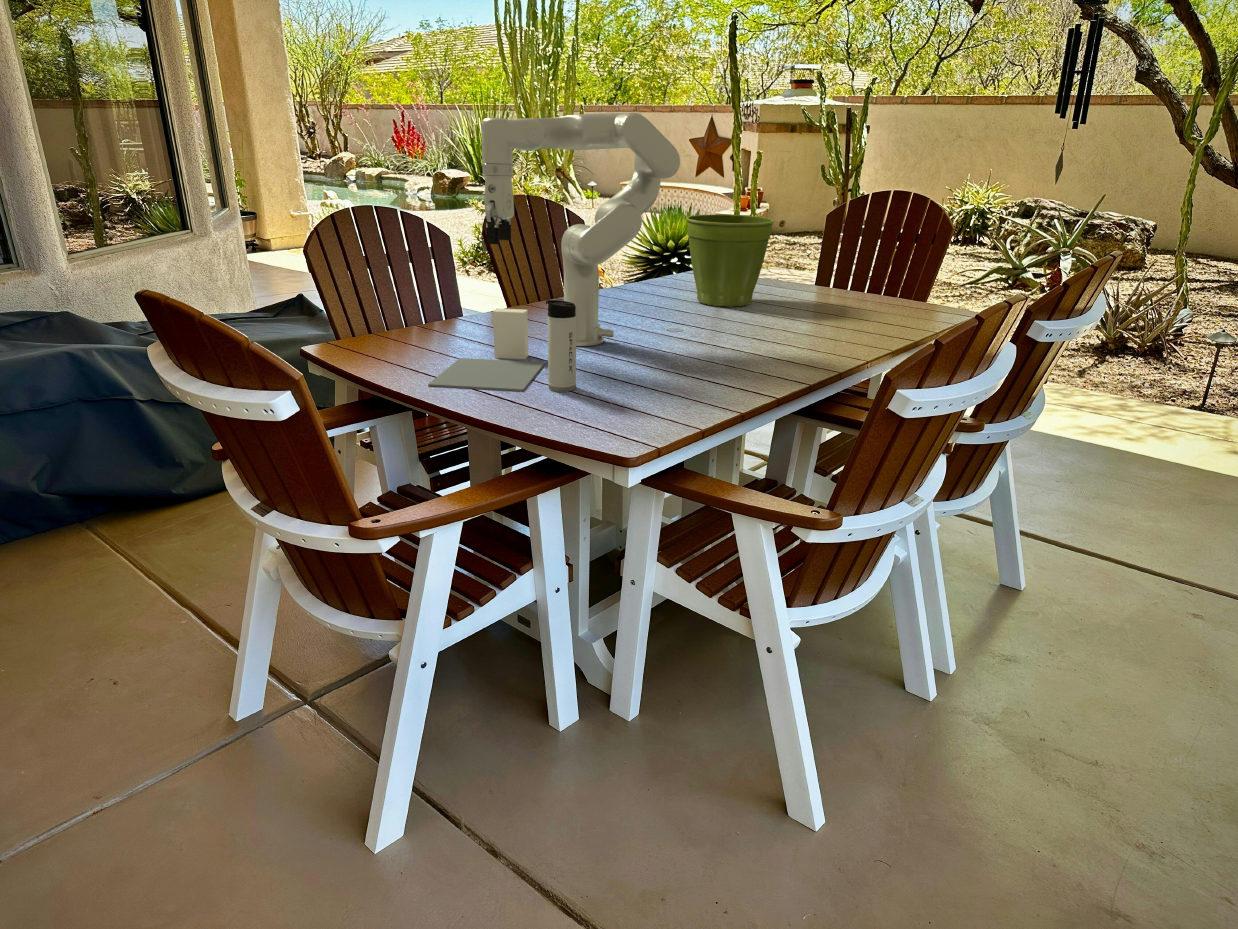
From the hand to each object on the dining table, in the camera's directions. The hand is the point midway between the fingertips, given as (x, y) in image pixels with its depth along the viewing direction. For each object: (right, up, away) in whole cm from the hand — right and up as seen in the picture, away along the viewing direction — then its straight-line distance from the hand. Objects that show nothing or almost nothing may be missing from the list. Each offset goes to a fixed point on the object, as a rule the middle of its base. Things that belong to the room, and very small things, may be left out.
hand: (499, 241), depth 209 cm
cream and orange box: (+3, -29, +2) cm, 30 cm away
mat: (0, -36, -15) cm, 39 cm away
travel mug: (+18, -40, -24) cm, 50 cm away
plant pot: (+68, -1, +77) cm, 103 cm away
